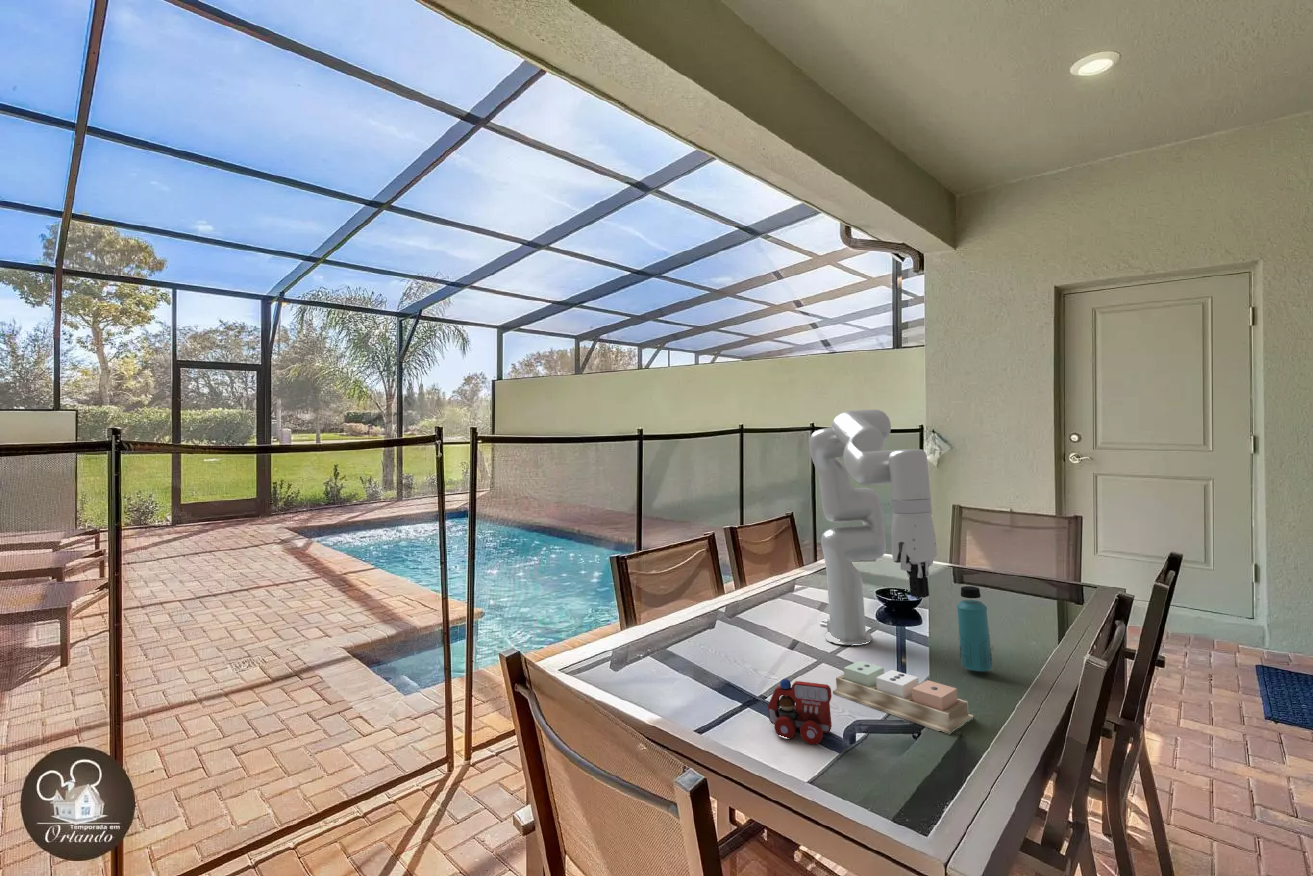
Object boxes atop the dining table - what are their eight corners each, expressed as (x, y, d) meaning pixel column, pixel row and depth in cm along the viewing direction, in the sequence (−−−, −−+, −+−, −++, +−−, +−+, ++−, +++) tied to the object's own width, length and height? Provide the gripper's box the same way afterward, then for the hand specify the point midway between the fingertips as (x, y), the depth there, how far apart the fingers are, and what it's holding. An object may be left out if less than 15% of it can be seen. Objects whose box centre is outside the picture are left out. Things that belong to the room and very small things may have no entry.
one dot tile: (913, 706, 116) (911, 688, 116) (928, 697, 120) (927, 679, 120) (942, 716, 112) (941, 697, 112) (958, 706, 115) (956, 688, 115)
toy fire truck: (776, 720, 119) (773, 669, 119) (838, 732, 112) (834, 678, 113) (765, 736, 113) (761, 682, 113) (829, 749, 106) (825, 692, 107)
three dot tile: (877, 694, 123) (875, 677, 123) (893, 686, 126) (891, 669, 126) (903, 703, 118) (902, 685, 118) (919, 694, 122) (918, 677, 122)
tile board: (832, 693, 130) (831, 678, 130) (858, 681, 135) (857, 666, 135) (949, 735, 109) (948, 716, 109) (973, 718, 115) (972, 701, 115)
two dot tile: (844, 683, 129) (843, 667, 129) (860, 676, 133) (859, 660, 133) (868, 691, 124) (867, 674, 124) (884, 683, 128) (883, 667, 128)
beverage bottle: (997, 678, 133) (991, 590, 133) (965, 678, 134) (959, 590, 134) (987, 667, 139) (981, 583, 139) (957, 667, 140) (951, 584, 141)
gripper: (914, 505, 130) (921, 588, 129) (875, 510, 121) (883, 600, 120) (947, 505, 124) (955, 592, 123) (909, 511, 115) (918, 605, 114)
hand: (919, 596), depth 121 cm, fingers closed
